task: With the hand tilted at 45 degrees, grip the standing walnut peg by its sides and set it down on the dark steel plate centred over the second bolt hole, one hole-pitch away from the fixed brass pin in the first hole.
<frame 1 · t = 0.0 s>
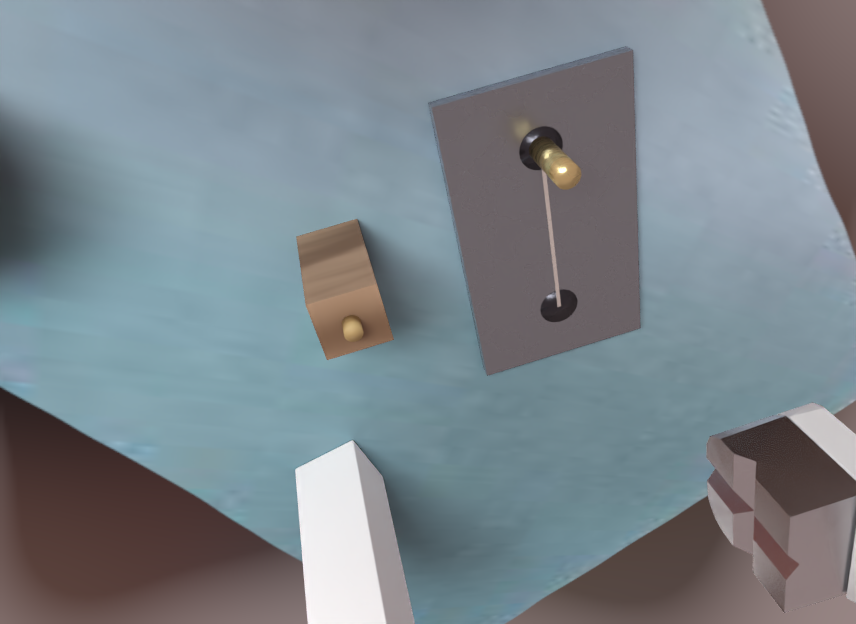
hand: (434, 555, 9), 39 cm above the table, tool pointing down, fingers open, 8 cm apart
milk: (339, 470, 63), on the table
walnut peg: (335, 253, 51), on the table
bolt plate: (546, 227, 53), on the table
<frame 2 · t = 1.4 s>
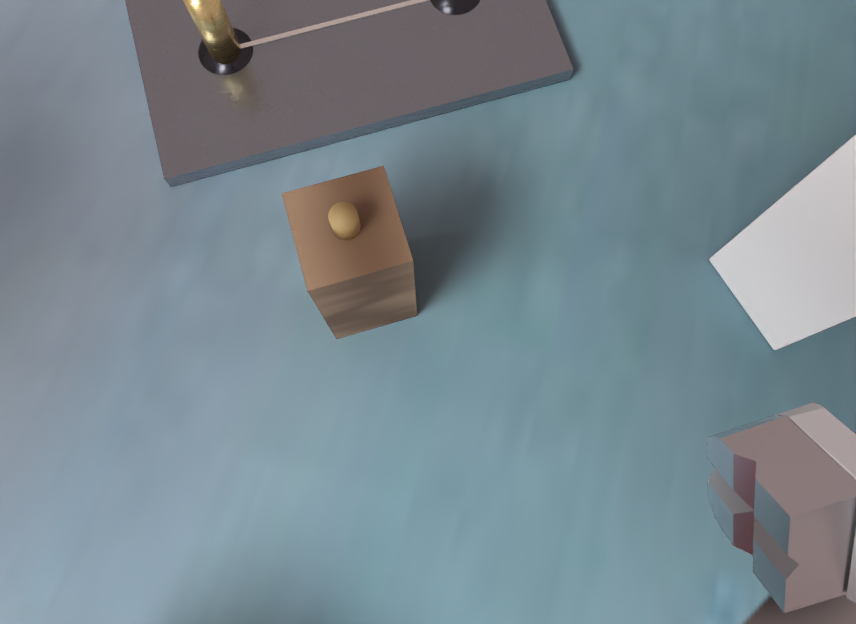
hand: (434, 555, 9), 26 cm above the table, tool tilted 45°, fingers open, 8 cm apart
milk: (782, 279, 38), on the table
walnut peg: (365, 288, 38), on the table
bolt plate: (343, 32, 42), on the table
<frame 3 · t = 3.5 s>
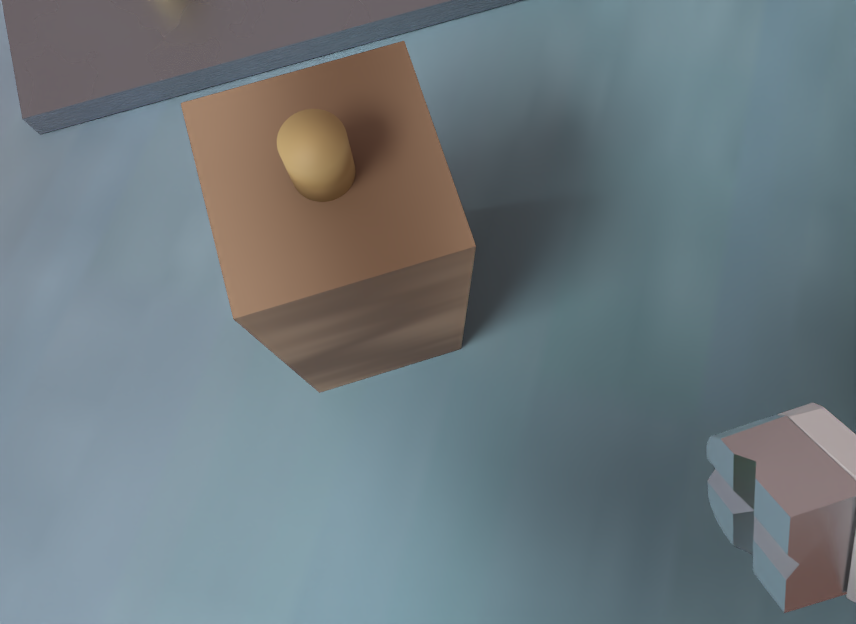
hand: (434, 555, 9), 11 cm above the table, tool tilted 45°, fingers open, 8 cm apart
walnut peg: (370, 302, 22), on the table
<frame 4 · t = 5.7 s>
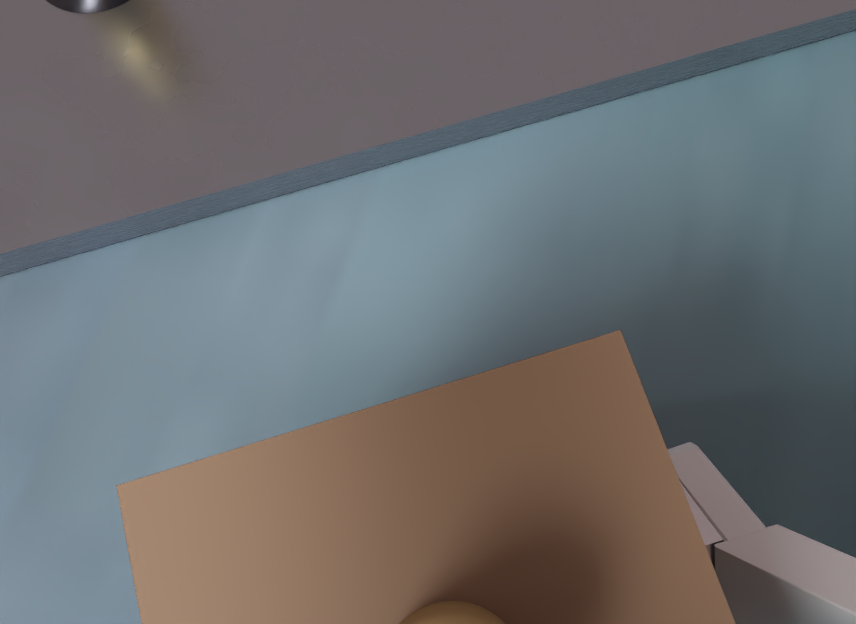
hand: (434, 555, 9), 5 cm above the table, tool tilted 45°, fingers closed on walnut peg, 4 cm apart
walnut peg: (446, 567, 14), on the table, touching gripper
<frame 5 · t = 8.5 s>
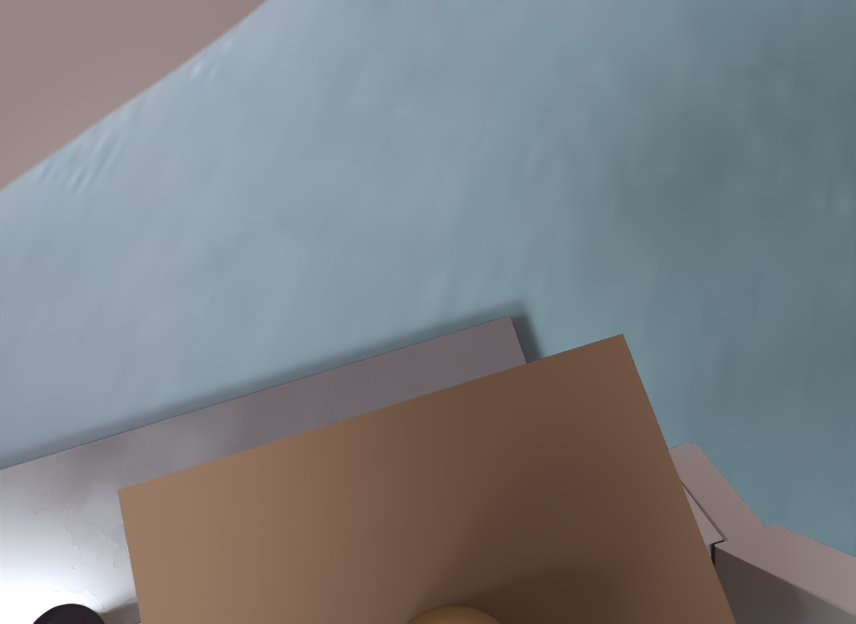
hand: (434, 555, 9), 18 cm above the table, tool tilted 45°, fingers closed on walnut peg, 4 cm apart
walnut peg: (447, 569, 14), point 13 cm above the table, touching gripper
bolt plate: (263, 586, 26), on the table
when the fingers open (7 cm above the table, at t = 11.4 s): walnut peg stays where it is, resting on bolt plate.
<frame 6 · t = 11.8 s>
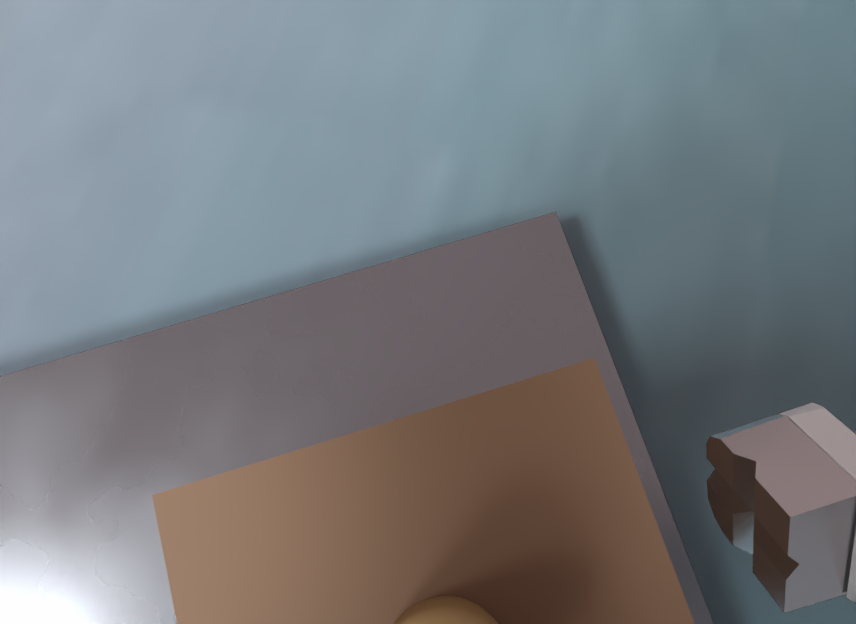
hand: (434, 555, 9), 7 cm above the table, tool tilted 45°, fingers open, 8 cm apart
walnut peg: (444, 566, 15), point 1 cm above the table, touching bolt plate
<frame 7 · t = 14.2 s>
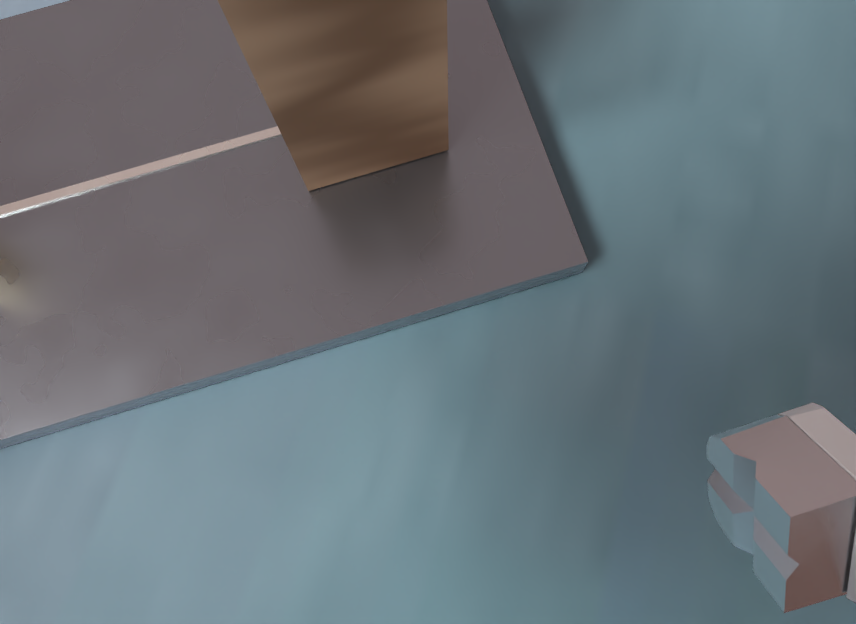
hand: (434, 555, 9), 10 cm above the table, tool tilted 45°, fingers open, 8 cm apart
walnut peg: (359, 108, 22), point 1 cm above the table, touching bolt plate
bolt plate: (160, 183, 23), on the table
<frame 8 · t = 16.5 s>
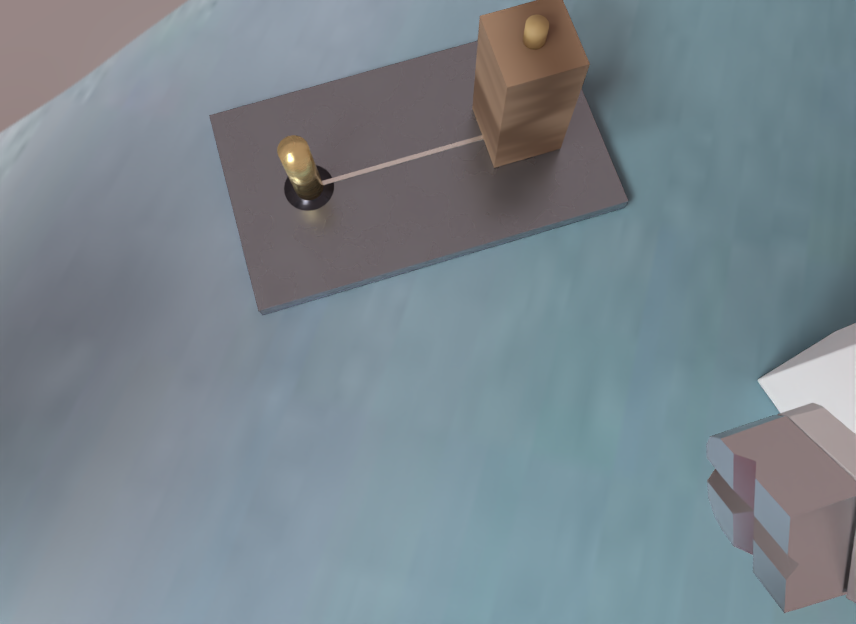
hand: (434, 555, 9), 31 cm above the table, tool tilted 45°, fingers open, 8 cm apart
milk: (824, 398, 41), on the table
walnut peg: (516, 128, 45), point 1 cm above the table, touching bolt plate
bolt plate: (414, 164, 45), on the table
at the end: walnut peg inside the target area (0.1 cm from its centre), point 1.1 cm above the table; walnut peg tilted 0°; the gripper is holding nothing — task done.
